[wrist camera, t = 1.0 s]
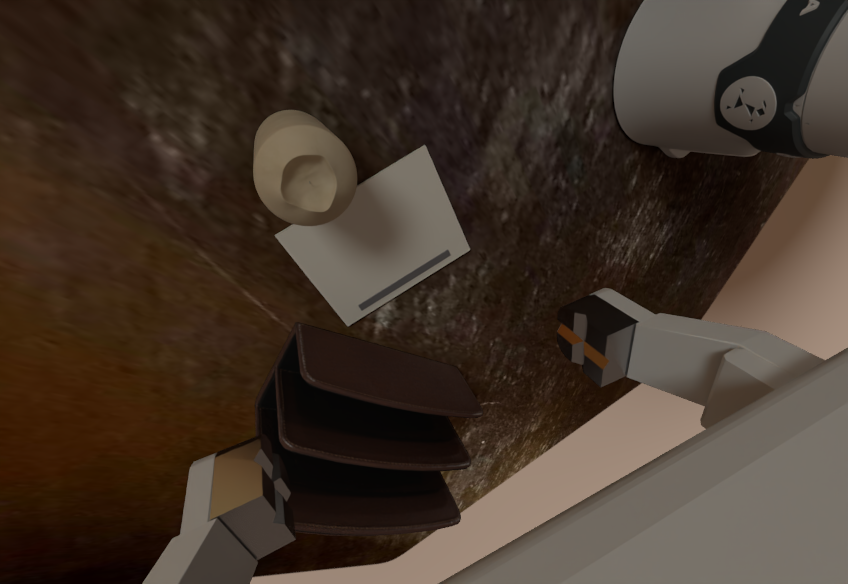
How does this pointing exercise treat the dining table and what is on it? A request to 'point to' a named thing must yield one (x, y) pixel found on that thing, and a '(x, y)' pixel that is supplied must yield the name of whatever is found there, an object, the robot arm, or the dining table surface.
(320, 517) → the letter holder
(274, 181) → the candle
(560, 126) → the dining table surface
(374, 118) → the dining table surface
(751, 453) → the robot arm
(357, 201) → the white rectangular plate
